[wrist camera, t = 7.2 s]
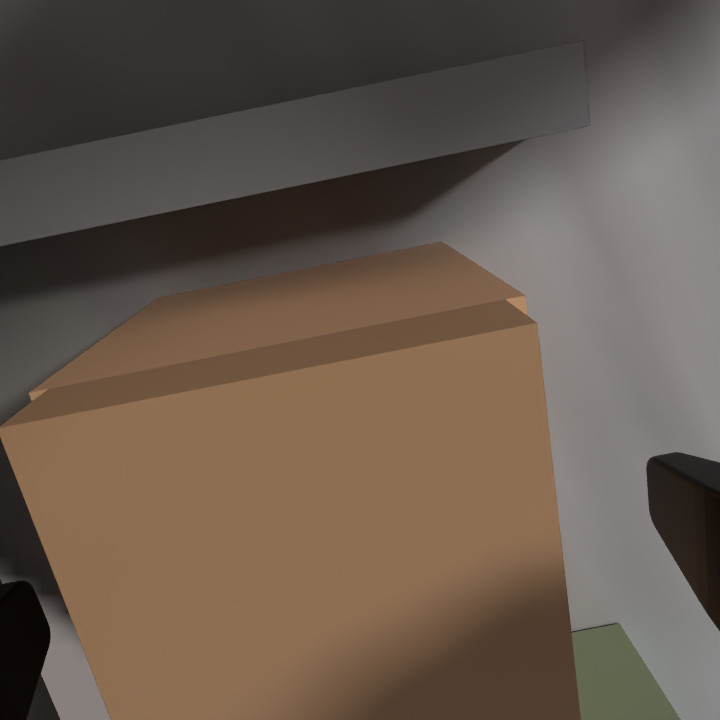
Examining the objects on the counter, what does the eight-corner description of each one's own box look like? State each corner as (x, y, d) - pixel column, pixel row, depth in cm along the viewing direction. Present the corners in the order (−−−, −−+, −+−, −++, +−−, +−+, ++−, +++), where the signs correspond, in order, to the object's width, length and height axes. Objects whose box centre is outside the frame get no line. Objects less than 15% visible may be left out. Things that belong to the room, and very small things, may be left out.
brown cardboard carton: (440, 240, 11) (560, 318, 5) (497, 617, 13) (623, 957, 8) (160, 296, 11) (-26, 432, 5) (265, 661, 13) (216, 1031, 8)
